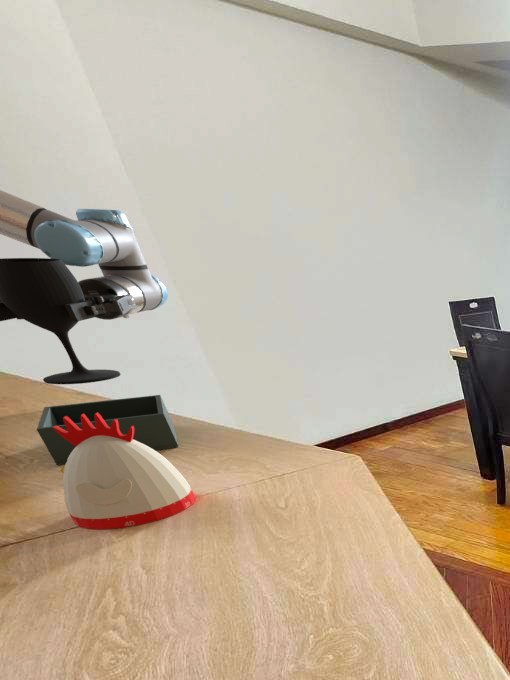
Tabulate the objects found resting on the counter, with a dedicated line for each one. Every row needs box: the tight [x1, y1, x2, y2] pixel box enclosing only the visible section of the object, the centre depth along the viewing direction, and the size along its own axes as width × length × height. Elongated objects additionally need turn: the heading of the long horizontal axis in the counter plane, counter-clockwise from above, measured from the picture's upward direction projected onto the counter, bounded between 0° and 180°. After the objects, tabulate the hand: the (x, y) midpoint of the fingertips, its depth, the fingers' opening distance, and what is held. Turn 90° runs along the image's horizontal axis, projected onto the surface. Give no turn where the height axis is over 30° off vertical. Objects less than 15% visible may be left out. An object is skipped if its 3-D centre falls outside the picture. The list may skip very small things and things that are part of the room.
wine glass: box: [0, 257, 122, 385], centre depth 106 cm, size 10×10×20 cm
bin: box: [36, 394, 179, 466], centre depth 113 cm, size 17×17×7 cm
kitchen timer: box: [53, 412, 196, 530], centre depth 87 cm, size 14×14×15 cm
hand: (32, 313), depth 101 cm, fingers closed on wine glass, 10 cm apart
